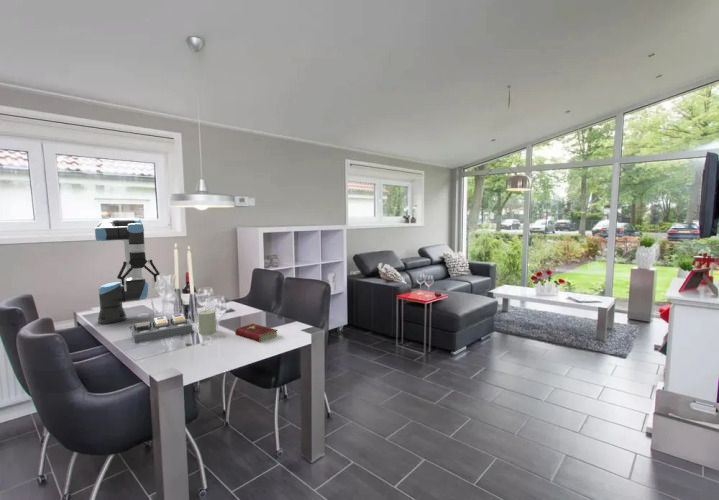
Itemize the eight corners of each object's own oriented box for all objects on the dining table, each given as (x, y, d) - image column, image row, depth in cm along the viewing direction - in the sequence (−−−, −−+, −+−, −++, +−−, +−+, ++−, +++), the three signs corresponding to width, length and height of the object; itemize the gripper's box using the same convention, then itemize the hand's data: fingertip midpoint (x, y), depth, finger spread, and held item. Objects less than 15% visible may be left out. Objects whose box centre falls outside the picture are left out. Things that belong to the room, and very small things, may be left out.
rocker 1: (135, 326, 205) (135, 323, 205) (148, 324, 208) (147, 321, 208) (137, 326, 198) (136, 323, 198) (149, 324, 202) (149, 321, 202)
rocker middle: (153, 320, 210) (153, 317, 210) (165, 318, 214) (165, 315, 213) (156, 326, 204) (156, 324, 204) (168, 324, 207) (168, 322, 207)
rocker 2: (171, 317, 215) (171, 315, 215) (182, 315, 219) (182, 313, 218) (174, 323, 209) (174, 321, 209) (185, 321, 213) (185, 319, 212)
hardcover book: (259, 343, 191) (259, 335, 191) (235, 335, 204) (235, 328, 203) (277, 337, 201) (277, 329, 201) (253, 329, 213) (253, 322, 213)
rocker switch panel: (131, 334, 205) (130, 322, 205) (186, 325, 222) (185, 314, 221) (134, 342, 193) (133, 330, 192) (192, 332, 209) (191, 320, 208)
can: (212, 328, 216) (211, 308, 214) (219, 331, 209) (218, 311, 208) (196, 332, 209) (195, 311, 208) (202, 335, 203) (201, 314, 201)
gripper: (110, 254, 194) (113, 293, 196) (163, 250, 208) (166, 287, 211) (109, 252, 200) (112, 291, 202) (161, 249, 214) (163, 285, 217)
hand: (139, 289), depth 207 cm, fingers open, 13 cm apart
